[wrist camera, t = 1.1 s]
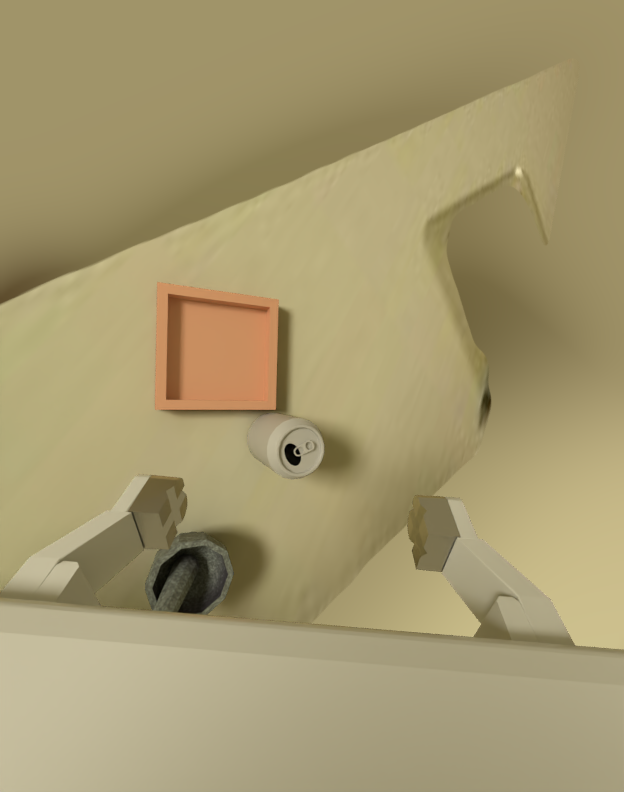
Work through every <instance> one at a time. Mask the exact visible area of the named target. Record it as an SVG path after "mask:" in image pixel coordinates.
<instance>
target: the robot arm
mask: <svg viewBox="0 0 624 792" xmlns="http://www.w3.org/2000/svg"><path fill="white" fill-rule="evenodd" d="M183 487H184V482H183V479H182V478H177V477H167V476H157V475H144V474H138V475H137V476H135V477H134V478H133V480H132V481H131V483H130V484H129V486H128V487H127V488H126V490H125V491H124V493H123V494H122V495H121V497H120V498H119V500H118V501H117V503H116V504H115V505H114V507H113V508H112V510H111V511H105V512H103V513H102V514H100V515H98V516H97V517H95V518H93V519H92V520H90V521H88V522H87V523H85V524H83V525H82V526H80V527H78V528H77V529H75V530H73V531H72V532H70V533H68V534H67V535H65V536H63V537H62V538H60V539H59V540H57V541H55V542H54V543H52V544H50V545H49V546H47V547H45V548H44V549H42V550H40V551H39V552H37V553H35V554H34V555H32V556H30V557H29V558H28V560H27V561H26V562H25V563H24V564H23V566H22V567H21V568H20V569H19V570H18V572H17V573H16V574H15V575H14V576H13V578H12V579H11V580H10V581H9V582H8V584H7V585H6V586H5V587H4V588H3V590H2V591H1V592H0V792H624V650H621V649H609V648H597V647H585V646H575V645H574V643H573V641H572V639H571V637H570V635H569V633H568V631H567V629H566V627H565V626H564V624H563V622H562V620H561V618H560V616H559V614H558V613H557V610H556V609H555V607H554V605H553V603H552V601H551V599H550V598H549V597H547V596H546V595H545V594H544V593H543V592H542V591H541V590H539V589H538V588H537V587H536V586H535V585H534V584H533V583H532V582H530V581H529V580H528V579H527V578H526V577H525V576H524V575H523V574H521V573H520V572H519V571H518V570H517V569H516V568H514V566H512V565H511V564H510V563H509V562H508V561H507V560H506V559H504V558H503V557H502V556H501V555H500V554H499V553H498V552H497V551H495V550H494V549H493V548H492V547H491V546H490V545H489V544H488V543H486V542H485V541H484V540H483V539H478V537H477V534H476V532H475V530H474V528H473V525H472V523H471V520H470V518H469V516H468V513H467V511H466V508H465V506H464V504H463V502H462V500H461V499H460V498H454V497H440V496H424V495H415V496H414V498H413V501H412V504H413V509H412V510H411V511H409V515H408V524H407V527H408V534H409V539H410V540H411V541H412V542H413V543H414V546H413V549H412V553H413V557H414V562H415V566H416V569H419V570H428V571H438V572H442V574H443V576H444V577H445V578H446V579H447V581H448V582H449V583H450V585H451V586H452V587H453V588H454V590H455V591H456V592H457V594H458V595H459V596H460V597H461V598H462V600H463V601H464V602H465V604H466V605H467V606H468V608H469V609H470V610H471V611H472V613H473V614H474V615H475V616H476V618H477V619H478V620H479V622H480V623H481V626H480V627H479V629H478V631H477V632H476V634H475V635H474V637H465V636H453V635H440V634H429V633H417V632H405V631H393V630H381V629H369V628H357V627H345V626H332V625H321V624H309V623H298V622H285V621H273V620H261V619H249V618H237V617H225V616H213V615H201V614H189V613H177V612H165V611H153V610H141V609H129V608H117V607H105V606H101V605H100V603H99V601H98V599H97V598H96V596H95V593H96V592H97V591H98V590H99V589H100V588H102V587H103V586H104V585H105V584H106V583H107V582H108V581H109V580H111V579H112V578H113V577H114V576H115V575H116V574H117V573H119V572H120V571H121V570H122V569H123V568H124V567H125V566H126V565H128V564H129V563H130V562H131V561H132V560H133V559H134V558H136V557H137V556H138V555H139V554H140V553H141V552H142V551H143V550H144V548H146V549H166V550H169V549H170V547H171V545H172V542H173V540H174V538H175V536H176V534H177V530H176V526H177V525H178V524H179V523H181V522H182V521H183V518H184V516H185V513H186V509H187V495H186V494H185V493H184V492H183V491H182V489H183Z"/></svg>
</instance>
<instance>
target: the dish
mask: <svg viewBox="0 0 624 792" xmlns="http://www.w3.org/2000/svg"><path fill="white" fill-rule="evenodd" d="M278 304H279V300H277V299H270V298H263V297H257V296H250V295H243V294H236V293H229V292H222V291H215V290H208V289H201V288H194V287H187V286H180V285H173V284H166V283H160V282H157V331H156V383H155V410H276V383H277V344H278Z"/></svg>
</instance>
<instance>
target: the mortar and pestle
mask: <svg viewBox="0 0 624 792" xmlns="http://www.w3.org/2000/svg"><path fill="white" fill-rule="evenodd" d="M233 575H234V572H233V569H232V565H231V562H230V559H229V555H228V552H227V549H226V547H225V546H224V545H223V544H222V543H221V542H219V541H218V540H216V539H214V538H213V537H211V536H209V535H207V534H206V533H204V532H200V533H197V532H189V533H181V534H179V535H178V536H177V537H175V538H174V540H173V542H172V545H171V547H170V549H169V550H166V549H160V550H159V551H158V552H157V554H156V557H155V559H154V562H153V564H152V567H151V570H150V572H149V575H148V577H147V580H146V583H145V591H146V594H147V597H148V600H149V602H150V605H151V608H152V610H153V611H165V612H177V613H189V614H201V615H207V614H208V613H209V612H210V611H212V610H213V609H214V608H215V607H216V606H217V605H218V604H219V603H220V602H222V601H223V600H224V599H225V597H226V595H227V592H228V589H229V586H230V583H231V580H232V578H233Z"/></svg>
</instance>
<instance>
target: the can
mask: <svg viewBox="0 0 624 792" xmlns="http://www.w3.org/2000/svg"><path fill="white" fill-rule="evenodd" d="M247 440H248V447H249V450H250V452H251V453H252V454H253V456H254V457H255V458H256V459H258V460H259V461H260V462H262V463H263V464H264V465H266V466H267V467H269V468H270V469H271V470H273V471H274V472H275V473H277V474H279V475H280V476H282V477H283V478H288V479H299V478H303V477H305V476H307V475H309V474H311V473H312V472H313V471H315V470H316V469H317V468H318V466H319V465H320V463H321V462H322V459H323V456H324V441H323V438H322V435H321V432H320V431H319V429H318V428H317V426H316V425H314V424H313V423H312V422H310V421H309V420H305V419H302V418H298V417H293V416H289V415H284V414H280V413H267V414H264V415H262V416H260V417H259V418H258V419H256V420H255V421H254V422H253V424H252V425H251V427H250V429H249V432H248V436H247Z"/></svg>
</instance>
